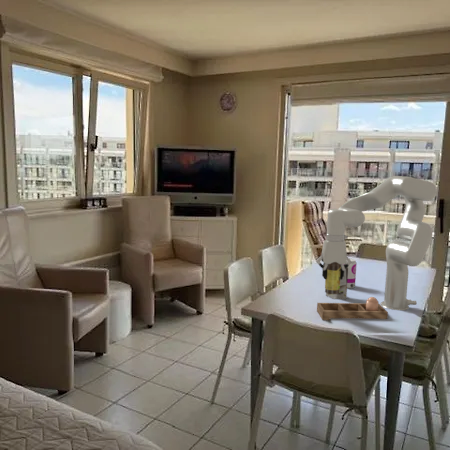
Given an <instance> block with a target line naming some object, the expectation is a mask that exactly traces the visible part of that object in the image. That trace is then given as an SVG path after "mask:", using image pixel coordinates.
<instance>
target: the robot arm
mask: <svg viewBox="0 0 450 450" xmlns="http://www.w3.org/2000/svg"><path fill="white" fill-rule="evenodd" d="M437 193H438V189H437V187H436V184H434V183H433V182H431V181H429V180H423V179H419V178H416V177H411V176H401V175H392V176H390V177H388V178H386V179H385V180H384V181H382V182H381V183H380V184H378V185H377V186H376V187H375V188H373V189H371V190H370V191H367V192H365V193H363V194H361V195H359V196H356V197H353V198H351V199H350V200H347V202H345V203H343V205H340V207H338V208H334V209H329V210H328V212H327V219H326V220H327V221H326V222H327V223H326V237H325V239H324V241H323V244H322V249H321V255H320V256H319V257H318V258H317V259H316V260H315V262H316V264H317V265H318V266H319V267H320V268H321V270H322V271H321V272H322V277H323V279H324V280H325V279H327V270H326V268H327V266H328V264H331V263H333V262H337V263H339V264H340V265H341V274H340V279H341V280H342V278H343V277H344V270H345V269H346V268H347V267H348V266H349V265H350V264H351V263H352V261H351V260H350V259H351V258H350V257H348V256H347V255H348V254H347V252H348V251H347V243H346V241H345V240H347V239H348V238H349V236H348V235H346V234H345V232H346V227H352V228H357V227H361V226H362V225H363V224H364V223H365V221H366V216H365V214H364V212H365V211H371V210H377V209H380V208H382V207H384V206H386V204H388V203H389V202H390V201H392V200H393V199H395V198H396V197H398V196H401V197H403V200H404V204H405V208H404V212H403V215H402V216H401V219H400V222H399V224H398V227H397V231H396V235H397V236H398V237H399V238H400V239H402V240H405V241H409V242H410V243H408V242H404V241H400V240H393V241H391V242H389V243H388V244H387V246H386V248H385V257H386V258H385V259H386V274H385V286H384V287H385V288H384V299H383V301H382V302H380V305H381V306H382V307H383V308H384V309H388V310H392V311H406V310H409V309H410V305H411V306H417V300H412V299H407V295H408V294H407V293H408V284H409V283H408V281H409V267H417V266H419V265H420V264H421V263H422V262H423V260H424V258H425V256H426V253H427V251H428V249H429V246H430V245H431V241H432V239H433V228H432V227H431V225H430V224H429V223H427V222H425V221H423V220H424V217H425V213H426V207H425V203H424V202H428V201H431V200H434V198H435V197H436V196H437ZM349 258H350V259H349ZM346 260H347V263H346ZM322 262H323V264H322ZM345 263H346V264H345Z"/></svg>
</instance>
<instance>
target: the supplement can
mask: <svg viewBox="0 0 450 450" xmlns="http://www.w3.org/2000/svg"><path fill="white" fill-rule="evenodd" d="M348 258H349V259H350V260H351V261H352V263H351V264H350V265H349V266H348V267H347V268H348V279H347V289H354V287H356V277H357V265H358V264H357V262H356V261H357V260H356V259H354V258H350V257H348ZM346 263H347V260H346ZM346 263H345V264H346Z"/></svg>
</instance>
